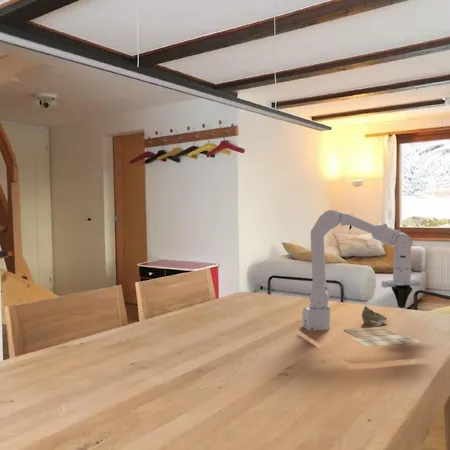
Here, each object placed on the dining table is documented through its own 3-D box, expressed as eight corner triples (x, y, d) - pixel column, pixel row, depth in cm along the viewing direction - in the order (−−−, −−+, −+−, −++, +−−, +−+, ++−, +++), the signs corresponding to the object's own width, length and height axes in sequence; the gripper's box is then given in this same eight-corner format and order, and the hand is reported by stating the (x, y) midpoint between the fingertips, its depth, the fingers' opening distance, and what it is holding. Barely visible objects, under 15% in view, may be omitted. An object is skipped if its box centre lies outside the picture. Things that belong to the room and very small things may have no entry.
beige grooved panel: (366, 350, 155) (366, 346, 154) (350, 342, 164) (350, 337, 164) (421, 346, 159) (421, 341, 159) (403, 338, 169) (403, 333, 169)
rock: (377, 329, 176) (361, 306, 181) (366, 338, 179) (351, 315, 184) (394, 324, 183) (378, 302, 188) (384, 333, 187) (368, 311, 192)
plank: (356, 341, 165) (356, 337, 165) (343, 333, 174) (343, 329, 174) (396, 338, 169) (396, 334, 169) (381, 330, 178) (381, 326, 178)
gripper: (390, 270, 164) (389, 310, 164) (427, 268, 167) (427, 308, 168) (378, 267, 171) (377, 306, 171) (414, 266, 174) (414, 304, 175)
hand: (401, 307), depth 170 cm, fingers closed
